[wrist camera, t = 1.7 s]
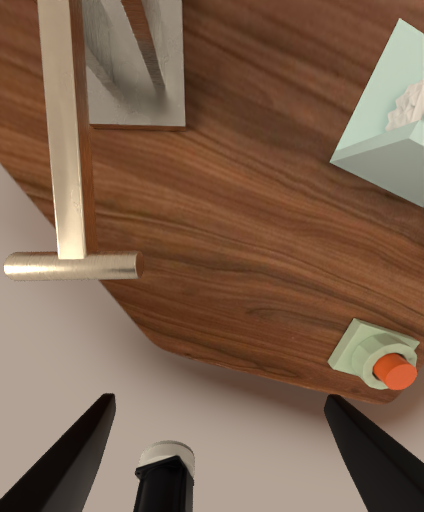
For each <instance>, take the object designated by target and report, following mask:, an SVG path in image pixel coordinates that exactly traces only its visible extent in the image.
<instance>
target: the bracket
mask: <svg viewBox="0 0 424 512" xmlns="http://www.w3.org/2000/svg"><path fill="white" fill-rule="evenodd" d="M34 2H35V3H36V4H37V0H34ZM82 11H83V27H84V43H85V59H86V75H87V91H88V106H89V122H90V126H92V127H93V128H95V129H124V130H159V131H186V106H185V69H184V32H183V0H82Z"/></svg>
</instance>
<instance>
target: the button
mask: <svg viewBox="0 0 424 512" xmlns="http://www.w3.org/2000/svg"><path fill="white" fill-rule="evenodd" d="M373 373H374V374H375V375H376V376H377V377H378V378H379V379H380V380H381V381H382V382H383V383H384V384H385V385H386V386H387V387H388V388H390V389H392V390H400V389H404V388H406V387H408V386H409V385H410V384H412V382H413V381H414V380H415V378H416V376H417V370H416V368H415V367H414V366H413V365H412V364H410V363H409V362H408V361H406V360H405V359H404V358H402V357H401V356H400V355H398V354H396V353H389V354H386V355H384V356H382V357H381V358H379V359H378V360H377V362H376V363H375V365H374V366H373Z"/></svg>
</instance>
